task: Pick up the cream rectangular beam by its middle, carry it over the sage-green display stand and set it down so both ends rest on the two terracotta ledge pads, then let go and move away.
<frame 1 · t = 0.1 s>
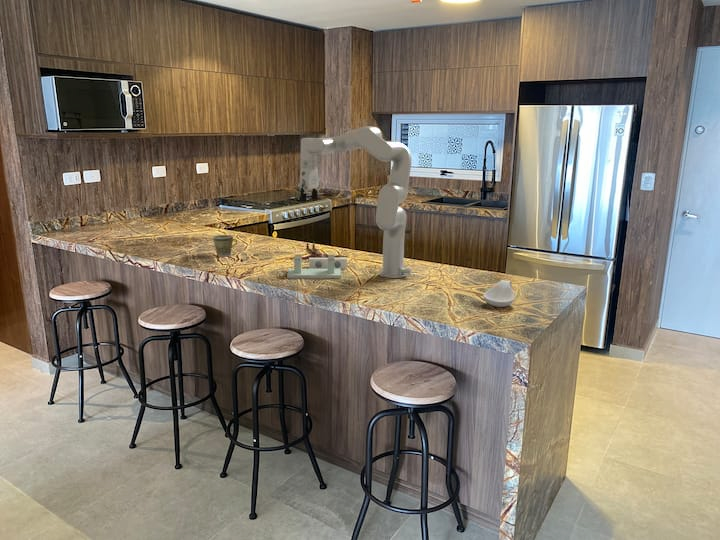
hand: (309, 200, 263), 31 cm above the countertop, tool pointing down, fingers open, 9 cm apart
ceramic cup: (226, 256, 284), on the countertop
spoon rest: (500, 301, 216), on the countertop
display stand: (314, 275, 249), on the countertop
cream rectangular beam: (328, 268, 262), on the countertop
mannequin: (316, 256, 290), on the countertop
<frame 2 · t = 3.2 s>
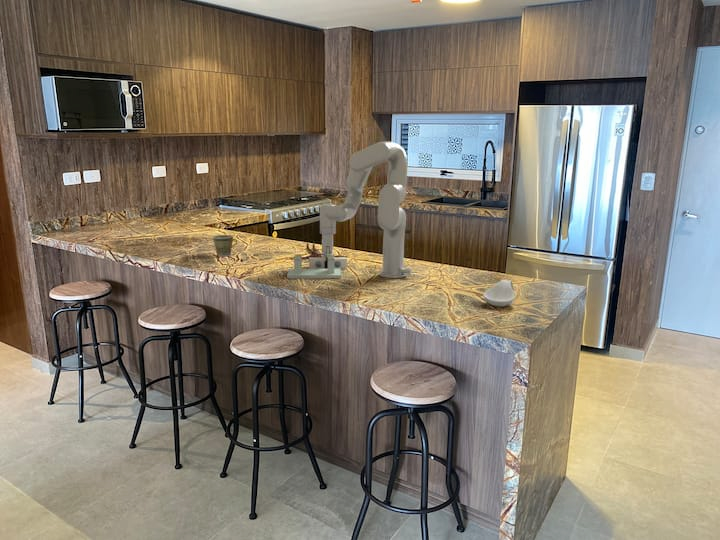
hand: (327, 267, 262), 0 cm above the countertop, tool pointing down, fingers closed on cream rectangular beam, 3 cm apart
cream rectangular beam: (327, 268, 262), on the countertop, touching gripper
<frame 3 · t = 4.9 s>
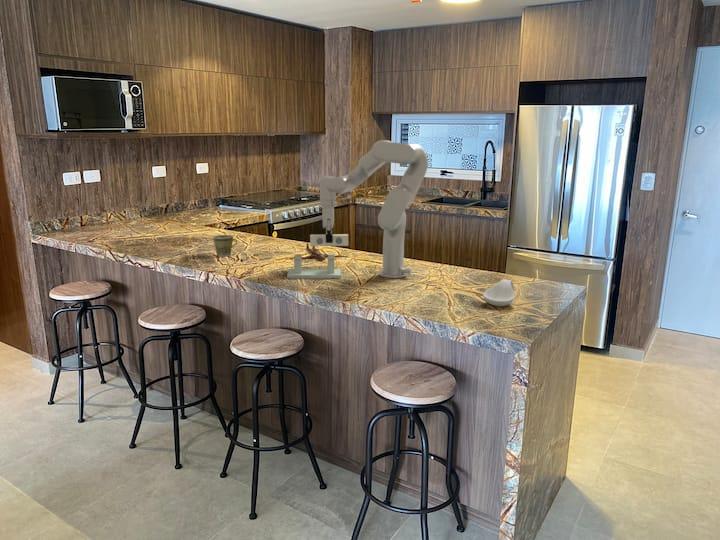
hand: (329, 241, 259), 13 cm above the countertop, tool pointing down, fingers closed on cream rectangular beam, 3 cm apart
cream rectangular beam: (329, 245, 259), point 11 cm above the countertop, touching gripper
everything else where it was.
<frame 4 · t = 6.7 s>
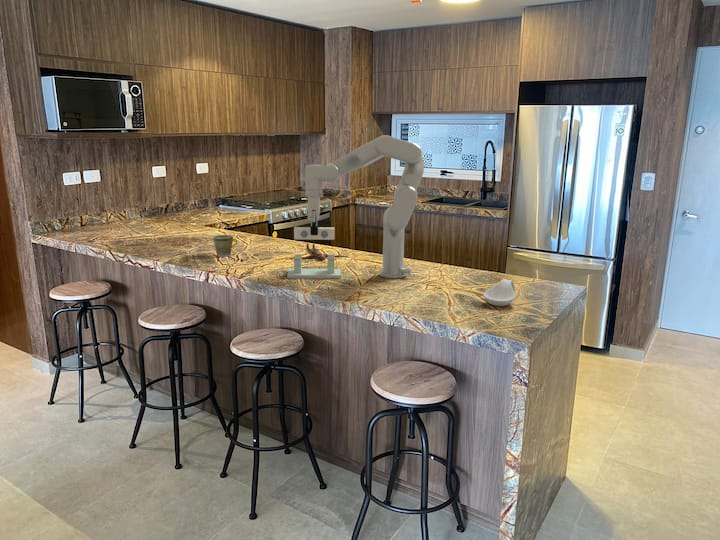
hand: (314, 233, 245), 19 cm above the countertop, tool pointing down, fingers closed on cream rectangular beam, 3 cm apart
cream rectangular beam: (314, 238, 245), point 17 cm above the countertop, touching gripper
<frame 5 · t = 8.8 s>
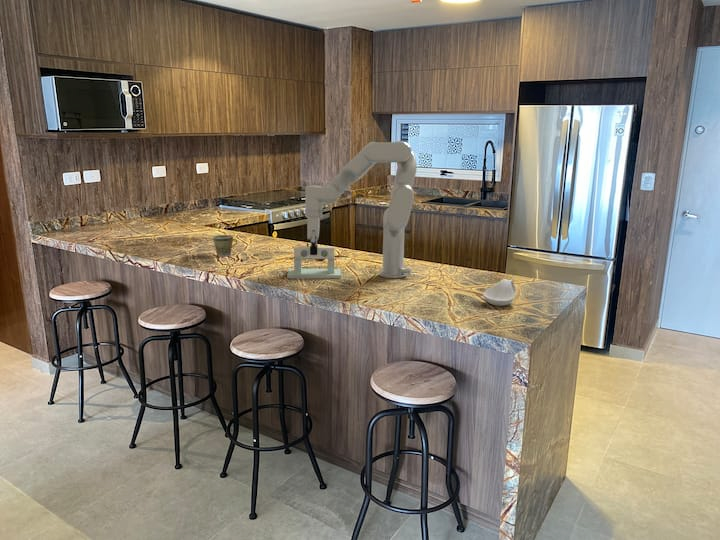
hand: (313, 253, 247), 10 cm above the countertop, tool pointing down, fingers closed on cream rectangular beam, 3 cm apart
cream rectangular beam: (314, 257, 247), point 8 cm above the countertop, touching display stand, gripper
when the fingers open (10 cm above the countertop, at t = 9.8 s): cream rectangular beam stays where it is, resting on display stand.
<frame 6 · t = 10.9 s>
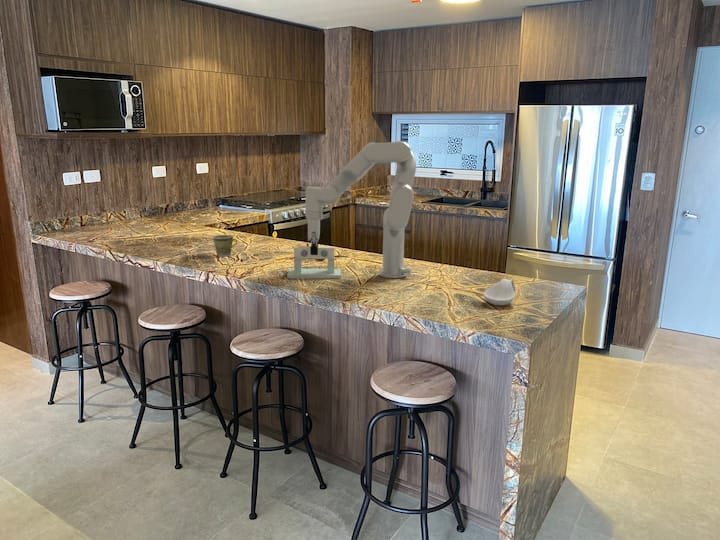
hand: (314, 252, 247), 11 cm above the countertop, tool pointing down, fingers open, 9 cm apart
cream rectangular beam: (314, 257, 247), point 8 cm above the countertop, touching display stand
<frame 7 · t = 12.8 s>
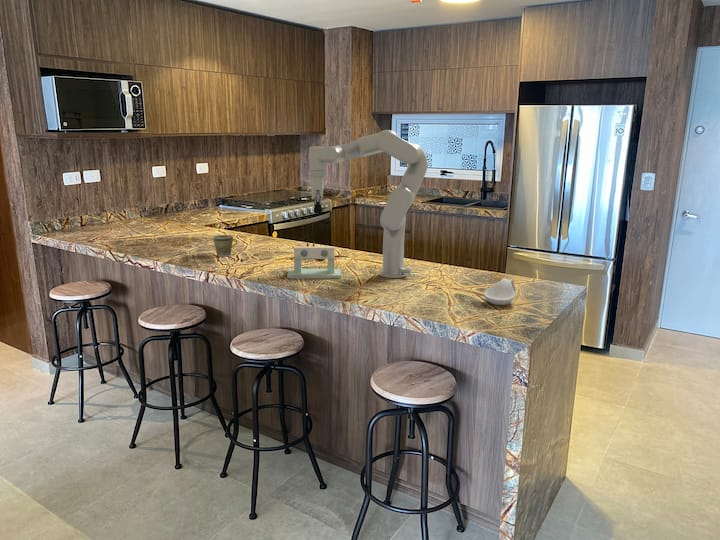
hand: (317, 211, 253), 28 cm above the countertop, tool pointing down, fingers open, 9 cm apart
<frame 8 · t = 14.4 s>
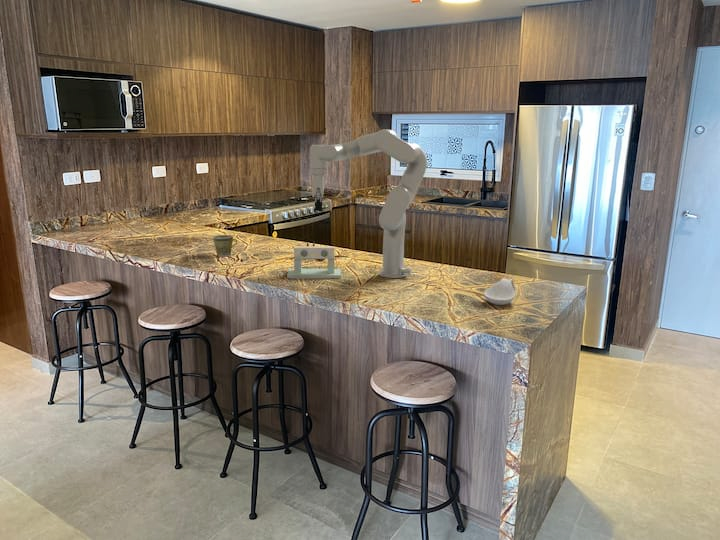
hand: (318, 209, 255), 28 cm above the countertop, tool pointing down, fingers open, 9 cm apart
at the end: cream rectangular beam 0.1 cm off-centre on the display stand, point 8.0 cm above the display stand's base; cream rectangular beam tilted 0°; the gripper is holding nothing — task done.
